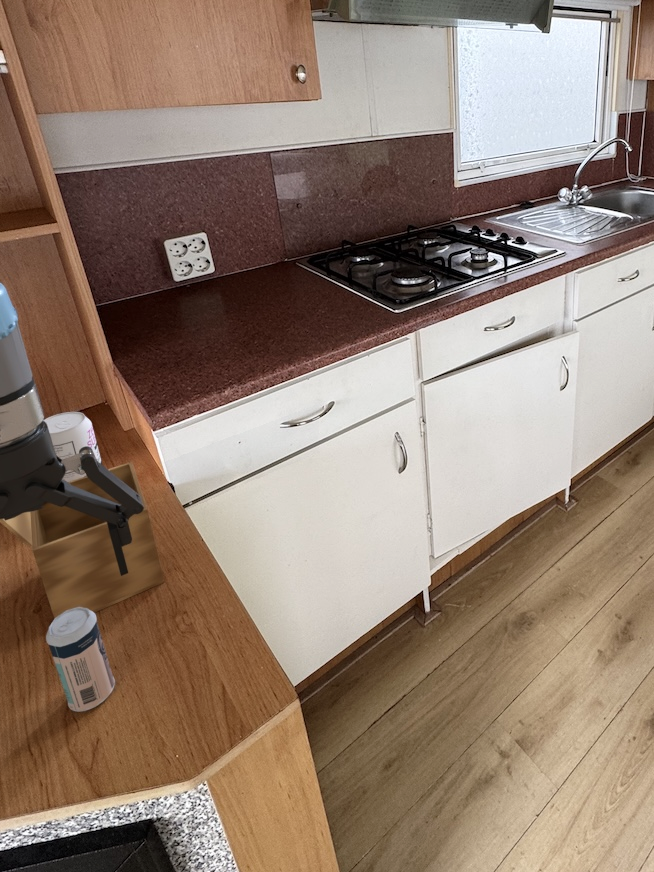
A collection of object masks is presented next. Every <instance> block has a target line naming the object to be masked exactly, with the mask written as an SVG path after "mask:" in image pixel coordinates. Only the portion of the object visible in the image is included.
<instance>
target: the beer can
mask: <svg viewBox="0 0 654 872" xmlns="http://www.w3.org/2000/svg"><path fill="white" fill-rule="evenodd" d="M97 619H98V618H97V615H96V612H95V613H94V612H93V611H91V610H88V608H82V607H77V608H74V609H70V610H67V611H65V612H64V613H62V614H61V615H59V616H58V617H56V618H55V619H54V618H53V621H52V622H51V624H50V625H49V626H48V630H47V631H46V635H45V641H46V643H47V644H48V646H49V650H50V652H51V657H52V659H53V662H54V665H55V668H56V671H57V674H58V677H59V679H60V683H61V687H62V688H63V692H64V695H65V698H66V700H67V706H68V708H69V709H70V710H71V711H73V712H78V713H79V712H81V713H82V712H87V711H89V710H92V709H93V708H96V707H97V706H99V705H100V704H102V703H103V702H104V701H105V700H106V699H107V698H108V697H109V696H110V695H111V694H112V692H113V690H114V689H115V685H116V680H115V677H114V676H113V672H112V669H111V666H110V662H109V658H108V655H107V652H106V649H105V645H104V641H103V638H102V635H101V631H100V627H99V625H98V621H97Z"/></svg>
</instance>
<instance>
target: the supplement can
mask: <svg viewBox="0 0 654 872" xmlns="http://www.w3.org/2000/svg"><path fill="white" fill-rule="evenodd" d="M43 421H45V422H46V423H47V426H48V429H49V433H50V436H51V440H52V443H53V446H54V450H55V453H56V455H57V456H58V457H59V458H60V459H62V460H63V459H66V458H68V457H71V456H74V455H76V454H79V450H80V449H81V448H83V447H86V446H88V447H91V448H92V450H93V453H94V455H95V457H96V459H97V461H98V462H99V463H100V464H102V465H103V462H102V458H101V454H100V449H99V446H98V443H97V439H96V435H95V431H94V427H93V423H92V421H91V420H90V419H89V418H88V417H87V416H86V415H85V414H84V413H83V412H80V411H68V412H67V411H66V412H62V413H57V414H54V415H51V416H49V417H46V418H44V419H43ZM85 476H87V475H86V473H85V474H83V475H80V474H77V473H76V472H75V471H73V470H68V471H66V473H65V475H64V477H63V479H62V480H65V481H67V482H69V481H72V480H76V479H79V478H82V477H85Z"/></svg>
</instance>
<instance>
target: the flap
mask: <svg viewBox="0 0 654 872" xmlns="http://www.w3.org/2000/svg"><path fill="white" fill-rule="evenodd" d="M0 524H1V525H3V526H4V528H6V529H7V530H8V531H9V532H11V533H12V534H13V535H14V536H15V537H16V538H17V539H18V540H20V541H21V542H22V543H24V545H25V546H27V547H28V548H31V547H32V531H31V514H30V512H25V513H22V514H20V515H18V516H16V517H15V518H12V519H9V520H6V521H5V519H0Z"/></svg>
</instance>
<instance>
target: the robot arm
mask: <svg viewBox="0 0 654 872" xmlns="http://www.w3.org/2000/svg"><path fill="white" fill-rule="evenodd" d="M43 420H45V412H44V409H43V405H42V401H41V398H40V395H39V391H38V388H37V384H36V382H35V380H34V376H33V372H32V368H31V365H30V361H29V358H28V355H27V351H26V348H25V343H24V340H23V337H22V334H21V330H20V326H19V318H18V312H17V309H16V308H15V306H13V303H12V301H11V298H10V296H9V293H8V291H7V288H6V287H5V285H4V284H3V283H1V282H0V519H5V521H6V520H9V519H12V518H15V517H16V516H18V515H20V514H22V513H25V512H31V511H36V510H39V509H42V508H43V505H45V504H46V503H51V504H54V505H57V506H59V507H63V506H66V507H69V508H71V509H74V510H77V511H80V512H82V513H85V514H88V515H90V516H93V517H96V518H99V519H101V520H104V521H107V525H108V529H109V533H110V537H111V541H112V545H113V548H114V552H115V556H116V559H117V563H118V567H119V571H120V574H121V576H123V575H125V574H127V573H128V569H127V565H126V561H125V557H124V553H123V549H122V547H123V546H125V545H128V544H130V543H131V542H132V536H131V532H130V528H129V524H128V520H129V518H130V517H131V516H133V515H134V514H139V513H141V512H142V511H143V510H144V506H143V503H142V500H141V497H140V495H139V494H137V493H136V492H135V491H134V490H133V489H131V488H130V487H129V486H128V485H126V484H125V483H124V482H123V481H121V480H120V479H119V478H118V477H116V476H115V475H114V474H113V473H112V472H110V471H109V470H108V469H109V468H107V467H106V466H104V465H103V463H102V464H100V463H99V462H98V461H97V459H96V457H95V455H94V453H93V450H92V448H91V447H88V446H86V447H83V448H81V449H80V450H79V454H76V455H74V456H71V457H68V458H66V459H63V460H62V459H60V458H59V457H58V456H57V455H56V453H55V450H54V446H53V443H52V440H51V436H50V433H49V429H48V426H47V423H46V422H45V421H43ZM68 470H73V471H75V472H76V473H77V474H80V475H83V474H85V473H86V475H87V477H88V478H89V479H90V480H91V481H92V482H93V483H95V484H96V485H97V486H98V487H100V488H101V489H102V490H104V491H105V492H106V493H107V494H109V495H110V496H111V497H113V498H114V499H115V500H116V501H118V502H119V503H120V504H122V505H120V504H118V503H115V502H113V501H110V500H107V499H105V498H102V497H100V496H97V495H95V494H92V493H90V492H87V491H85V490H82V489H80V488H77V487H74V486H72V485H71V484H70V483H69V482H67V481H65V480H62V479H63V477H64V475H65V473H66V471H68Z"/></svg>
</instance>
